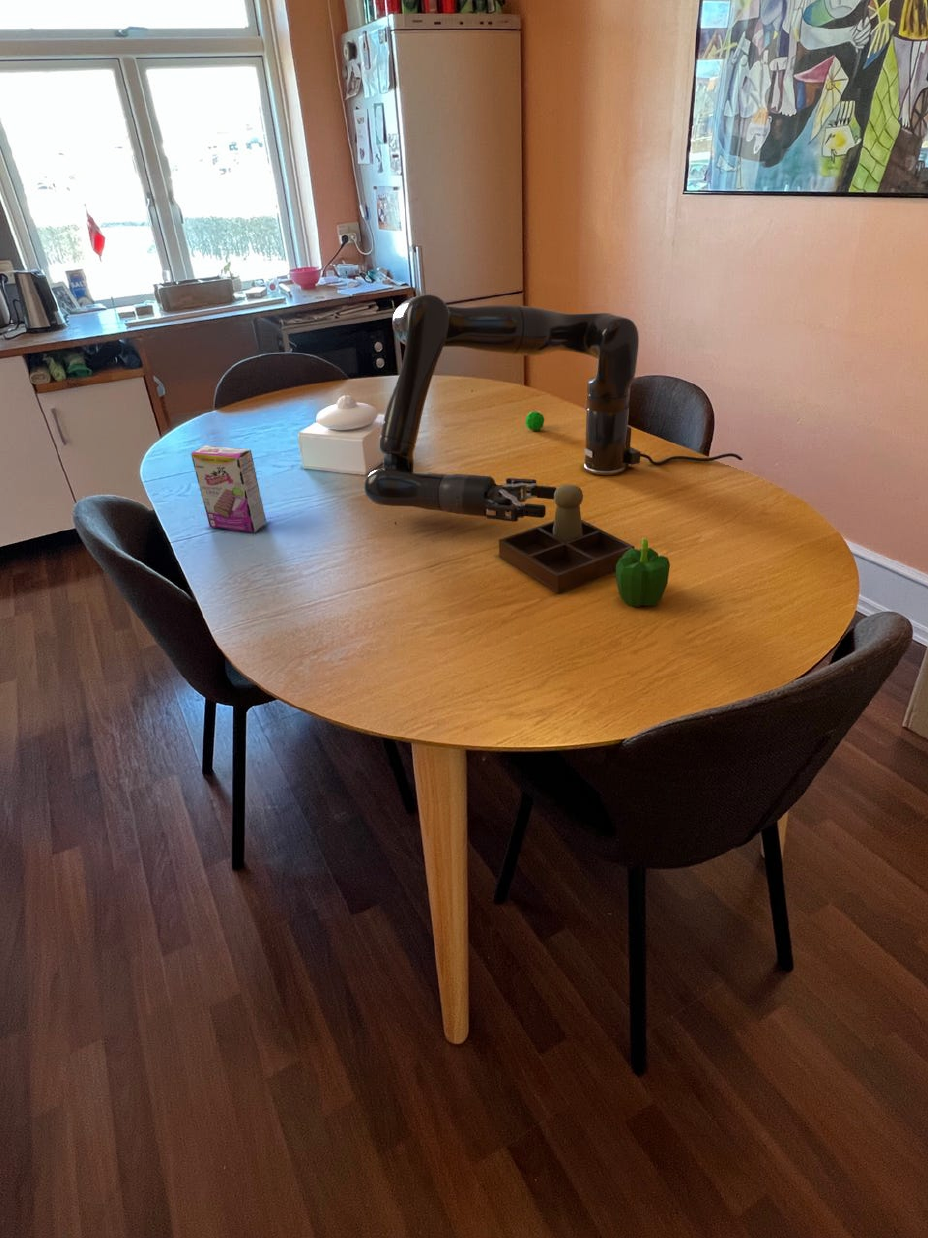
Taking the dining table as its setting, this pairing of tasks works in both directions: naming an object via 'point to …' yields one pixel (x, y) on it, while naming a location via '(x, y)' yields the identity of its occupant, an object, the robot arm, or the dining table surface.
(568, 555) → the compartment tray
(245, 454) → the candy bar box
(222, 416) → the dining table surface
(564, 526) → the pawn
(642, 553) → the bell pepper
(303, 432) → the butter dish
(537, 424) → the green pom-pom ball
